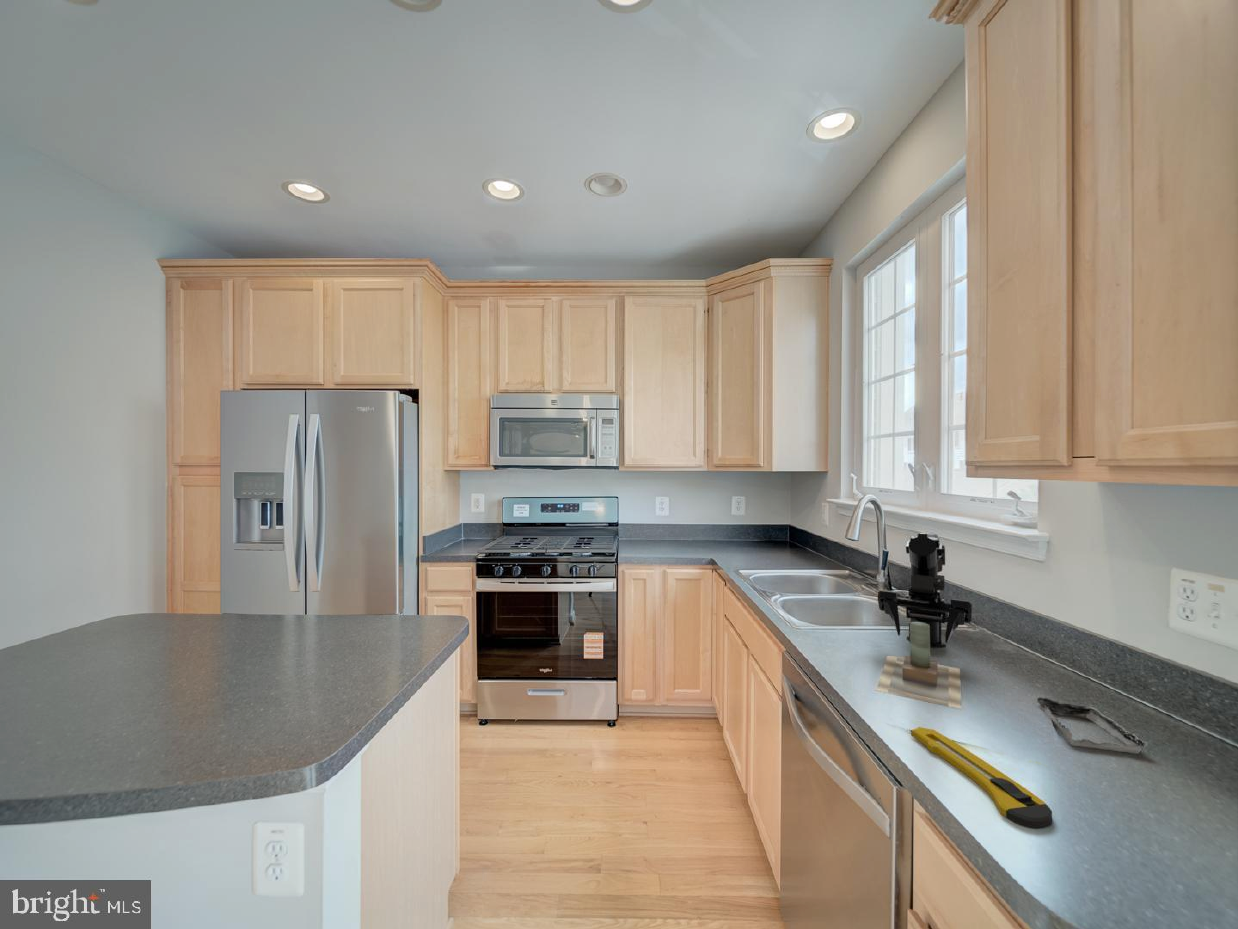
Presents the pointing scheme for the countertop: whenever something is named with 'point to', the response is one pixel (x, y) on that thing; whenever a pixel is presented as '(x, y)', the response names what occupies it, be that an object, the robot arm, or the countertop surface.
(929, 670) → the grey-green cylinder
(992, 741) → the countertop surface
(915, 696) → the wooden frame
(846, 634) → the countertop surface
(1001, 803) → the utility knife
